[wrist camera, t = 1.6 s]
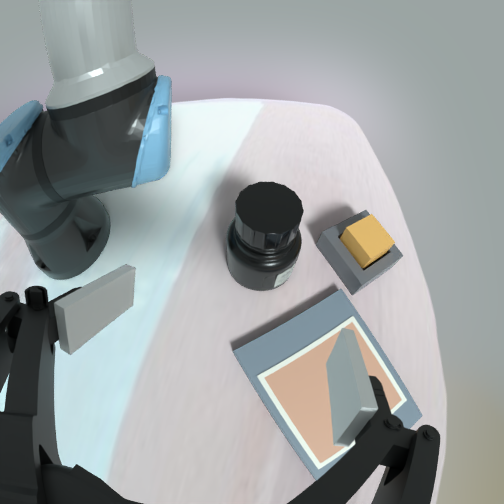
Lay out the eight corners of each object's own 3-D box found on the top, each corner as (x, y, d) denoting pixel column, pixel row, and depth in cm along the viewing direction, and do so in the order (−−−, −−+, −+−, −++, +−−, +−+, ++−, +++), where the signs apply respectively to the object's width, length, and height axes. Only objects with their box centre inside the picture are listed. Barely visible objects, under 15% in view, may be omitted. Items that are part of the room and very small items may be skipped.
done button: (337, 243, 37) (346, 227, 34) (361, 229, 39) (371, 213, 35) (359, 272, 35) (370, 258, 32) (382, 256, 37) (395, 242, 33)
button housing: (315, 245, 39) (322, 231, 36) (358, 223, 42) (366, 209, 39) (352, 295, 35) (362, 285, 32) (392, 266, 38) (403, 255, 35)
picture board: (233, 352, 31) (233, 350, 30) (338, 291, 36) (341, 288, 34) (323, 490, 22) (327, 493, 21) (417, 415, 27) (423, 415, 25)
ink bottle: (293, 297, 35) (317, 250, 25) (225, 293, 35) (220, 245, 24) (290, 233, 40) (308, 175, 29) (230, 230, 40) (229, 169, 29)
